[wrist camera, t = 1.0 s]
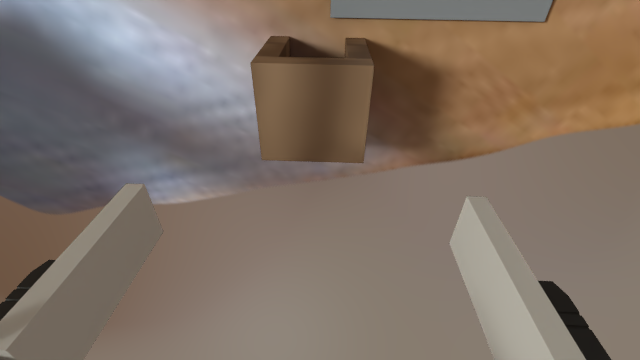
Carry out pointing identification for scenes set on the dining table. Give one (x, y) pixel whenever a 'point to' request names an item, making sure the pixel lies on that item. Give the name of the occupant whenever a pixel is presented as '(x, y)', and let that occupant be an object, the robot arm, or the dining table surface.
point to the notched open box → (312, 103)
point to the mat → (443, 9)
